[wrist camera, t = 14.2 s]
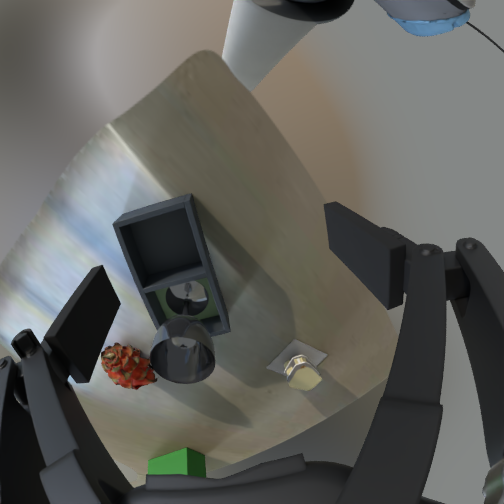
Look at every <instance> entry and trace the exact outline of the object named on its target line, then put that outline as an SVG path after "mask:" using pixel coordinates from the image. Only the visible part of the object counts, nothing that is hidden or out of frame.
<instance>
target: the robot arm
mask: <svg viewBox="0 0 504 504" xmlns="http://www.w3.org/2000/svg"><path fill="white" fill-rule="evenodd" d="M287 1H290V2H294V3H299V4H318V3H322V2H325V1H327V0H287ZM374 1H376V2H377V3H378V4H379V5H380V6H381V7H382V8H383V9H384V10H385V11H386V12H387V14H388V16H389V17H390V18H392V19H394V20H395V21H396V22H397V23H398V24H399V25H400V26H401V27H402V28H403V29H404V30H405V31H407V32H408V33H411V34H413V35H416V36H434V35H438V34H442V33H445V32H448V31H451V30H453V29H454V27H460V26H462V25H463V24H465V23H467V24H468V25H470V26H471V27H473V28H474V29H475V30H477V31H478V32H480V33H481V34H482V35H484V36H485V37H486V38H487V39H489V40H490V41H491V42H492V43H494V44H495V45H496V46H497V47H498V48H499V49H500V50H501V51H503V52H504V50H503V49H502V48H500V46H498V45H497V44H496V43H495V42H494V41H493V40H491V39H490V38H489V37H488V36H487V35H485V34H484V33H483V32H481V31H480V30H479V29H477V28H476V27H475V26H473V25H472V24H470V23H469V22H467V21H468V20H469V18H470V12H469V9H470V8H473V7H474V6H475V0H374ZM324 210H325V217H326V224H327V232H328V240H329V248H330V250H331V251H332V252H333V253H334V254H335V255H336V256H337V257H338V258H339V259H340V260H341V261H342V262H343V263H344V264H345V265H346V266H347V267H348V268H349V269H350V270H351V271H352V272H353V273H354V274H355V275H356V276H357V277H358V278H359V279H360V281H361V282H362V283H363V284H364V285H365V286H366V287H367V288H368V289H369V290H370V291H371V292H372V293H373V294H374V296H375V297H376V298H377V299H378V300H379V301H380V302H381V303H382V304H383V305H384V306H385V308H386V309H387V310H389V309H392V308H395V307H397V306H399V305H402V304H403V294H404V292H405V293H406V294H407V296H406V302H405V308H404V314H403V319H402V324H401V329H400V334H399V338H398V343H397V347H396V351H395V355H394V359H393V363H392V367H391V370H390V374H389V378H388V381H387V384H386V388H385V391H384V394H383V397H381V399H380V402H379V405H378V407H377V410H376V413H375V416H374V419H373V421H372V424H371V427H370V430H369V432H368V435H367V437H366V439H365V442H364V444H363V447H362V449H361V452H360V454H359V457H358V458H357V461H356V463H355V465H354V467H350V466H347V465H343V464H339V463H334V462H326V461H309V462H305V461H304V457H303V454H302V453H301V454H297V455H294V456H290V457H286V458H282V459H278V460H274V461H269V462H265V463H261V464H259V465H256V466H254V467H251V468H249V469H246V470H244V471H241V472H239V473H236V474H234V475H231V476H228V477H226V478H222V479H213V478H205V477H198V476H191V475H185V474H146V484H144V485H141V486H139V487H136V488H133V487H132V485H131V484H130V483H129V482H128V480H127V479H126V478H125V476H124V475H123V473H122V472H121V471H120V469H119V468H118V466H117V465H116V464H115V462H114V461H113V459H112V457H111V456H110V454H109V453H108V451H107V450H106V448H105V447H104V445H103V443H102V442H101V440H100V438H99V437H98V435H97V433H96V432H95V430H94V428H93V426H92V425H91V423H90V421H89V419H88V417H87V415H86V414H85V412H84V410H83V408H82V406H81V404H80V402H79V400H78V398H77V396H76V394H75V391H74V389H73V387H72V385H71V384H70V383H69V382H68V377H69V375H71V377H72V378H73V379H74V380H75V382H76V383H89V381H90V379H91V376H92V373H93V370H94V368H95V365H96V362H97V360H98V357H99V355H100V352H101V349H102V347H103V344H104V342H105V340H106V337H107V335H108V332H109V330H110V328H111V325H112V323H113V321H114V318H115V316H116V314H117V311H118V309H119V307H120V305H121V303H120V301H119V299H118V297H117V295H116V293H115V291H114V289H113V287H112V284H111V282H110V280H109V278H108V276H107V274H106V271H105V269H104V267H103V265H100V266H97V267H94V268H92V269H91V270H90V272H89V273H88V274H87V276H86V277H85V278H84V280H83V281H82V282H81V284H80V285H79V286H78V288H77V289H76V290H75V292H74V293H73V295H72V296H71V297H70V299H69V300H68V302H67V303H66V304H65V306H64V307H63V309H62V310H61V312H60V313H59V315H58V316H57V318H56V319H55V321H54V322H53V324H52V325H51V327H50V328H49V330H48V331H47V333H46V334H45V336H44V339H43V341H42V342H41V344H40V343H39V341H38V340H37V338H36V337H35V335H34V333H33V332H32V330H31V329H25V330H23V331H21V332H20V333H19V334H17V335H16V336H15V337H14V339H13V340H12V342H11V345H12V347H13V348H14V350H15V351H16V352H17V354H18V355H19V357H20V358H21V362H18V363H15V362H14V360H13V359H12V358H11V356H7V357H4V358H2V359H0V504H444V503H441V502H438V501H435V500H432V499H428V498H426V497H423V496H422V493H423V490H424V487H425V484H426V481H427V477H428V474H429V471H430V468H431V464H432V460H433V456H434V452H435V448H436V444H437V439H438V435H439V430H440V425H441V420H442V412H443V407H442V406H443V405H440V395H441V388H442V380H443V371H444V360H445V346H446V301H448V300H450V302H451V304H452V307H453V310H454V312H455V315H456V318H457V321H458V324H459V327H460V330H461V333H462V336H463V339H464V343H465V346H466V349H467V353H468V356H469V360H470V363H471V367H472V371H473V375H474V380H475V384H476V388H477V393H478V398H479V403H480V409H481V415H482V421H483V428H484V436H485V443H486V450H487V455H488V459H489V463H490V467H491V469H490V470H489V472H488V475H487V476H486V479H485V485H484V487H483V492H482V493H483V495H484V497H485V501H484V504H504V272H503V270H502V269H501V267H500V266H499V265H498V263H497V262H496V261H495V259H494V258H493V257H492V255H491V254H490V253H489V251H488V250H487V249H486V248H485V246H484V245H483V244H482V243H481V242H479V241H478V240H476V239H474V238H463V239H460V240H458V241H457V243H456V251H451V252H443V250H442V249H441V248H440V247H439V246H436V245H434V244H420V245H417V244H415V243H414V242H412V241H410V240H409V239H407V238H405V237H404V236H402V235H401V234H399V233H398V232H396V231H394V230H392V229H389V228H386V227H381V228H380V227H378V226H377V225H375V224H373V223H371V222H370V221H368V220H367V219H365V218H363V217H362V216H360V215H358V214H357V213H355V212H353V211H352V210H350V209H348V208H347V207H345V206H343V205H341V204H340V203H338V202H331V203H327V204H324ZM16 399H17V400H18V401H19V402H20V403H19V402H18V401H17V400H16Z"/></svg>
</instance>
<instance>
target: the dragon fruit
mask: <svg viewBox="0 0 504 504" xmlns="http://www.w3.org/2000/svg"><path fill="white" fill-rule="evenodd" d="M133 350H136V351H133ZM140 352H141V351H140V349H137V348H133V347H132V346H131V345H129V344H128V345H127V347H126V346H123V347H122V346H121V345H120V344H119V343H115V344H114V346H113V347H112V346H108V347H106V348H105V351H103V352H101V359H102V363H101V364H102V367H103V369H104V371H105V372H106V373H108V376H109V377H110V378H111V379H112V381H113V382H114V383H115V384H116V385H121V386H122V387H124V388H129V389H130V388H132V389H135V390H137V389H138V388H140V387H141V386H144V385H148V384H150V383H154V382H156V381H157V378H156V379H155V374H154V373H153V371H154V369H153V367H152V366H151V365H150V359H144V358H140ZM149 358H150V357H149ZM148 366H150V367H148ZM151 368H152V369H151Z"/></svg>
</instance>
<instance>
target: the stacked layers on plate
mask: <svg viewBox="0 0 504 504" xmlns="http://www.w3.org/2000/svg"><path fill="white" fill-rule="evenodd" d="M326 356H327V354H325V353H323V352H321V351H319V350H317V349H315V348H313V347H311V346H308V345H306V344H304V343H302V342H300V341H298V340H296V339H294V340H293V341H292V342H291V343H290V344H289V345H288V346H287V347H286V348H285V349H284V350H283V351H282V352H281V353H280V354H279V355H278V356H277V357H276V358H275V359H274V360H273V361H272V362H271V363H270V364H269V365H268V366H267V367H266V368H267V369H270V370H272V371H275V372H277V373H280V374H282V375H285V376H288V377H287V381H288V382H289V386H290V387H291V388H295V389H301V390H306V391H310V390H311V389H312V388H314V387H315V386H316V385H317V384H318V383H319V382H320V381H321V380H322V378H321V377H320V373H319V372H318V371H317V370H316V369H317V367H316V366H317V365H318V364H319V363H320V362H321V361H322V360H323V359H324V358H325V357H326Z"/></svg>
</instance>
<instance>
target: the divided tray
mask: <svg viewBox="0 0 504 504" xmlns="http://www.w3.org/2000/svg"><path fill="white" fill-rule="evenodd" d="M113 227H114V230H115V233H116V235H117V238H118V241H119V244H120V246H121V249H122V251H123V254H124V257H125V259H126V262H127V264H128V267H129V269H130V272H131V274H132V276H133V279H134V281H135V283H136V286H137V288H138V290H139V293H140V295H141V297H142V299H143V302H144V304H145V306H146V308H147V310H148V312H149V315H150V317H151V319H152V321H153V323H154V325H155V327H156V329H157V331H158V329H159V328H160V326H161V325H162V323H163V322H164V321H166V320H167V319H168V318H170V317H172V316H175V315H178V314H176V313H175V312H173V311H172V310H171V309H170V308H169V306H168V305H167V302H166V291H167V289H168V287H171V286H175V285H179V284H183V283H187V282H191V281H197V282H199V283H201V284H202V285H203V286H204V287H205V288H206V290H207V292H208V295H209V302H208V305H207V307H206V308H205V310H204V311H202V312H201V313H200V314H198V315H195V316H193V317H195V318H197V319H199V320H200V321H202V322H203V323H204V325H205V326H206V327H207V329H208V331H209V333H210V335H211V337H212V336H216V335H220V334H225V333H229V332H231V331H230V324H229V318H228V313H227V310H226V306H225V303H224V300H223V297H222V294H221V291H220V288H219V284H218V281H217V278H216V275H215V272H214V268H213V265H212V262H211V258H210V255H209V252H208V248H207V245H206V242H205V238H204V235H203V231H202V228H201V224H200V221H199V217H198V214H197V210H196V207H195V203H194V200H193V196H192V193H191V194H187V195H184V196H180V197H177V198H173V199H170V200H166V201H163V202H160V203H156V204H153V205H150V206H147V207H144V208H140V209H137V210H134V211H131V212H128V213H125V214H122V215H121V216H120V217H119V218H118V219H117V220H116V221H115V222H114V223H113Z"/></svg>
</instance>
